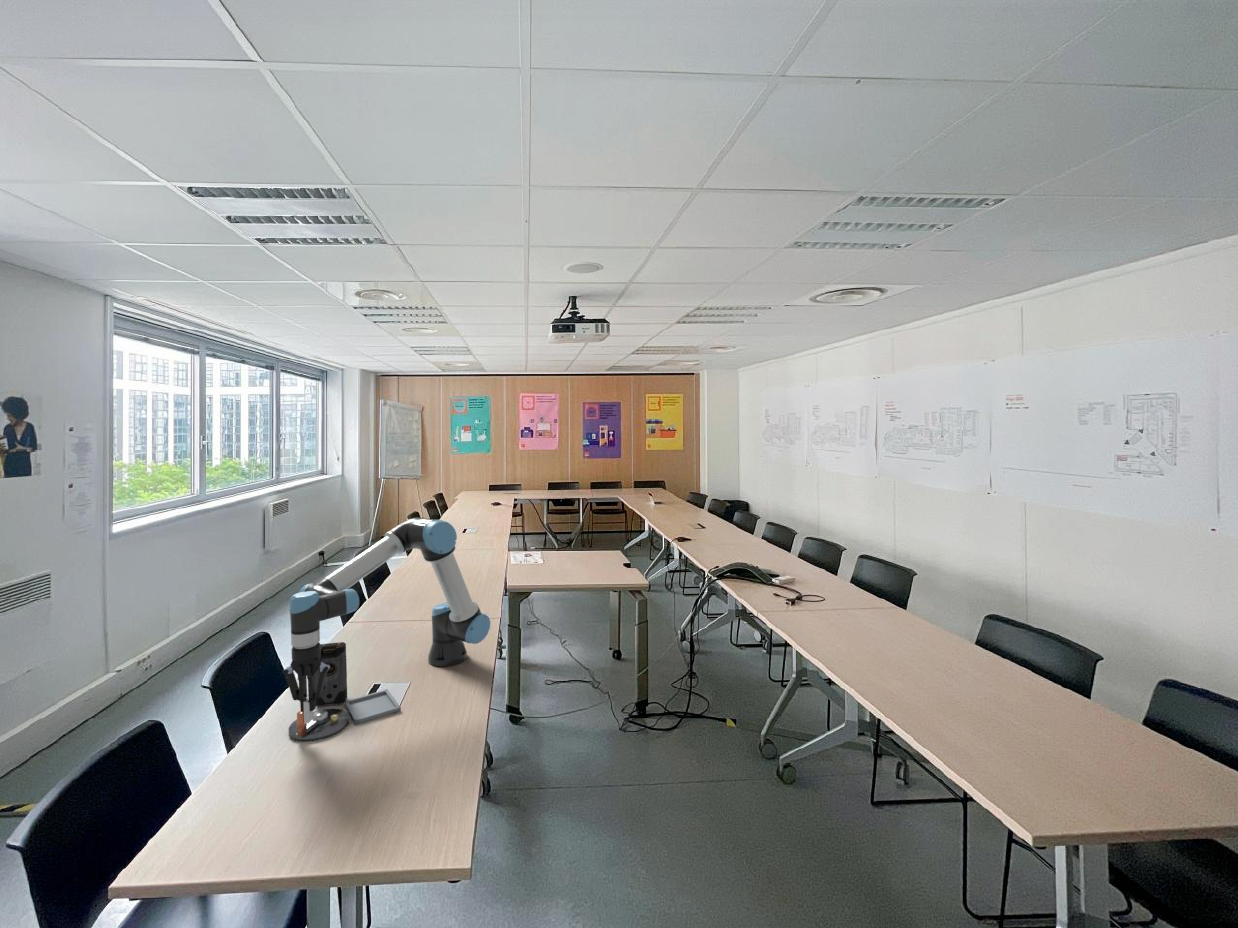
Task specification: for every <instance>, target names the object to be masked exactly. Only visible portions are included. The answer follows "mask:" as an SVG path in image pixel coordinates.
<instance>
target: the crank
mask: <svg viewBox="0 0 1238 928" xmlns="http://www.w3.org/2000/svg"><path fill="white" fill-rule="evenodd" d="M320 710H321V711H319V710H316V711H317V712H315V711H314V712H315V713H313V719H312V720H311V722H310V723H307V724H304V712H301V710H300V711H297V712H296V720H297V734H298V737H304V736H306V735H307V732H308V731H310V730H311V729H312V728H313V727H315V726H316V725H320V724H323V723H325V722H327V720H328V712H327V711H325V710H324V709H320Z"/></svg>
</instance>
